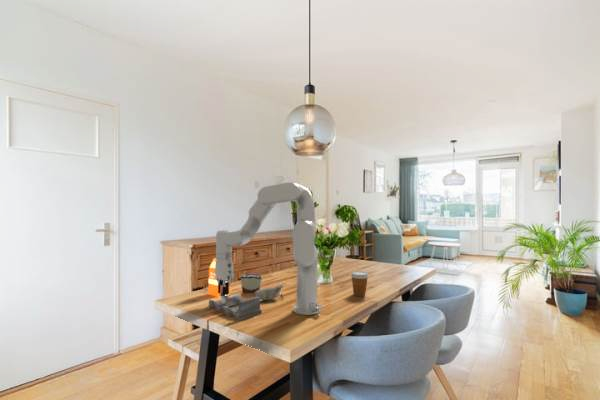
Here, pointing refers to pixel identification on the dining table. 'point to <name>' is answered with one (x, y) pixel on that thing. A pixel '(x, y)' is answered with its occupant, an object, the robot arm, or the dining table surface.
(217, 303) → the nut press
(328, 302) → the dining table surface
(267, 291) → the decorative bird
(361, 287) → the disposable coffee cup
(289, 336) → the dining table surface
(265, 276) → the dining table surface
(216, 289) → the orange juice
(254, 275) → the food container
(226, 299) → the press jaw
